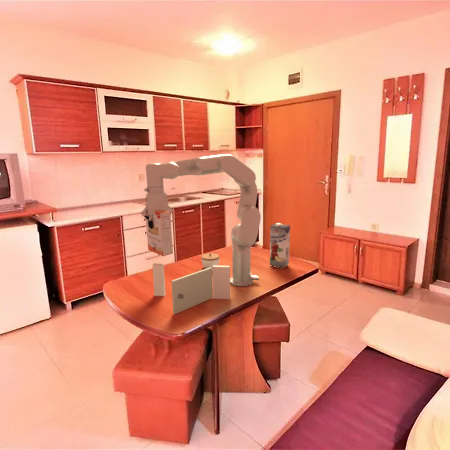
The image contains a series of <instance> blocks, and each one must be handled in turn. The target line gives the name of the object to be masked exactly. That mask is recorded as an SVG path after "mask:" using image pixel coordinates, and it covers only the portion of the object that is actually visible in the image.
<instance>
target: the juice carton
mask: <svg viewBox="0 0 450 450" xmlns="http://www.w3.org/2000/svg"><path fill="white" fill-rule="evenodd" d="M269 232H270V234H269V239H270V240H269V266H270V265H272V266H276V267H279V268H283V267H285V266H288V267H289V264H290V247H291V246H290V245H291V242H290V241H291V225H289V224H282V223H281V222H276V223H273V224H271V225H270V231H269ZM272 266H271V267H272ZM276 267H275V268H276ZM279 268H278V269H279ZM285 268H286V267H285ZM283 269H284V268H283Z"/></svg>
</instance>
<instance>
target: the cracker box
mask: <svg viewBox="0 0 450 450" xmlns="http://www.w3.org/2000/svg"><path fill="white" fill-rule="evenodd" d="M145 214H146V215H147V216H148V214H147V213H146V212H145ZM171 216H172V215H170V212H169V211H157V212H155V215H153V216H152V219H151V220H152V223H153V229H150V228H149V226H148V220H147V219H146V218H145V225H146V240H147V249H148V251H150V252H153V253H155V254H157V255H160V256H161V257H166V256H168V255H172V254H173V253H174V250H173V234H172V219H171Z"/></svg>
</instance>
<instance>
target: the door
mask: <svg viewBox="0 0 450 450" xmlns="http://www.w3.org/2000/svg"><path fill="white" fill-rule="evenodd" d="M171 297H172V298H171V299H172V313H173V314H174V315H177V314H178V313H180V312H183V311H185V310H188V309H190V308H192V307H195V306H197V305H200V304H202V303H204V302H206V301H209V300H211V299H214V298H213V270H212V268H211V267H210V268H207V269H205V268H204V269H202V270H201V269H200V270H198V271H196V272H193V273H189V274H187V275H184V276H180V277H178V278H175V279H171Z"/></svg>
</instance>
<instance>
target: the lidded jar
mask: <svg viewBox="0 0 450 450" xmlns="http://www.w3.org/2000/svg"><path fill="white" fill-rule="evenodd" d="M201 264H202V266H203V268H204V269H207V268H210V267H211V268H212V271H213V265H218V266H219V265H220V254H218V253H212V252H208V253H204V254H202V255H201Z"/></svg>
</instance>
